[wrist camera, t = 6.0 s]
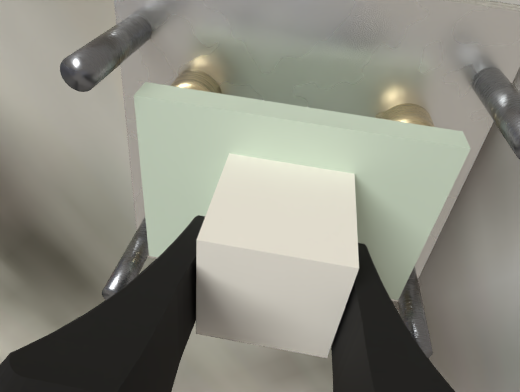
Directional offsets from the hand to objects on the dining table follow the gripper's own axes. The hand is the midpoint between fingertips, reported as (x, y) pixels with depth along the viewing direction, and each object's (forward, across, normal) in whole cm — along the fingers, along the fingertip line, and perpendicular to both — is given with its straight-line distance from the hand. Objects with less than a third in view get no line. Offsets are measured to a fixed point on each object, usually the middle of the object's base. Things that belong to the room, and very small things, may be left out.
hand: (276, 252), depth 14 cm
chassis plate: (+6, 0, 0) cm, 6 cm away
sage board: (+3, 0, 0) cm, 3 cm away
